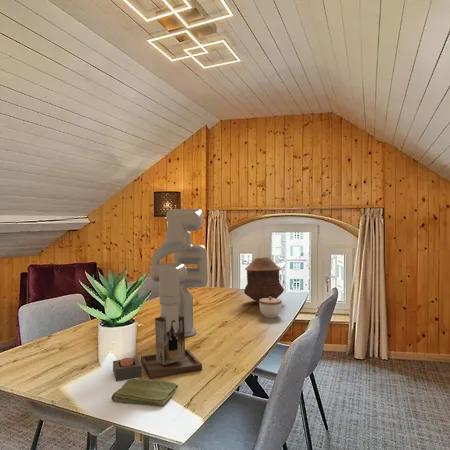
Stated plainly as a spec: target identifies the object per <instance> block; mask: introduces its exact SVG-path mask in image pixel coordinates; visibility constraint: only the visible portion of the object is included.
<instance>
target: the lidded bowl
mask: <svg viewBox="0 0 450 450" xmlns="http://www.w3.org/2000/svg"><path fill="white" fill-rule="evenodd" d="M258 305H259V311H260V313H261V314H262V315H263V317H265V318H269V319H272V318H273V319H274V318H277V317H278V316H279V315H280V313H281V311H282V299H281V298H271V296H270V297H269V298H262V299H260V300H259V304H258Z"/></svg>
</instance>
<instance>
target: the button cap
mask: <svg viewBox="0 0 450 450" xmlns="http://www.w3.org/2000/svg"><path fill="white" fill-rule="evenodd" d="M133 358H134V357H124V358H122V359H121V358H120V360H121V361H120V364H121V367H125V366H131V365H133Z"/></svg>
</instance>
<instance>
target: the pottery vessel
mask: <svg viewBox="0 0 450 450" xmlns="http://www.w3.org/2000/svg"><path fill="white" fill-rule="evenodd" d="M244 270H245V271H246V278H247V279H246V280H247V281H246V282H247V283H246V284H245V287H244V290H243V293H244V295H246V296H247V297H248V298H250V299H252V300H253V301H255V302H257V303H256V304H258V305H259V300H260V299H262V298H269V297H270V296H271V298H277V299H279V297H280V296H281V295H282V294H283V293H284V291H285V289H284V288H283V286H282V284H281V283H280V271H281V270H282V269H281V267H279V266H278V265H277V263H275V262H274V261H273V260H272V259H271V258H270V257H269V256H260V257H255V258H254V260H252V261H251V262H250V264H249V265H247V266H246V267H245V268H244Z"/></svg>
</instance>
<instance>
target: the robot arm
mask: <svg viewBox="0 0 450 450" xmlns="http://www.w3.org/2000/svg"><path fill="white" fill-rule="evenodd" d="M165 217H166V218H165V220H166V222H167V223H166V224H167V225H166V233H165V240H164V242H162V243H161V244H160V245H159V246H158V247H157V248H156V250H155V251H154V253H153V254H152V258H151V263H150V269H149V274H150V279H151V281H152V282H154V283H158V285H159V289H158V290H159V295H158V297H159V299H158V300H159V305H160V316H159V317H162V318H163V319H164V320H165V321H166V330H165V332H166V333H167V332H169V351H173V350H177V349H178V337H177V336H178V335H177V333H178V330H179V316H178V315H180V316H183V317H184V336H185V338H186V337H188V338H189V337H192V336H194V335H196V334H197V329H196V328H194V297H193V294H192V292H191V290H190V288H205V287H206V286H207V285H208V277H209V276H208V275H209V274H208V253H207V252H208V250H207V248H206V247H205V246H204V245H203V244H192V234H191V232H198V231H200V230H201V229H202V226H203V225H204V220H205V216H204V212H203V211H202V209H200V208H176V209H175V208H174V209H170V210H167V212H166V213H165ZM171 254H173V260H174V263H172V262H166V263H165V262H164V263H163V262H161V261H162V260H163V259H164V258H165V257H167V256H168V255H171ZM160 262H161V263H160ZM186 265H187V266H189V265H191V266H193V265H195V267H191V266H190V267H187V266H186ZM196 266H197V267H196ZM171 326H172V329H173V331H170V329H171ZM171 333H173V334H172V336H171Z"/></svg>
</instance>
